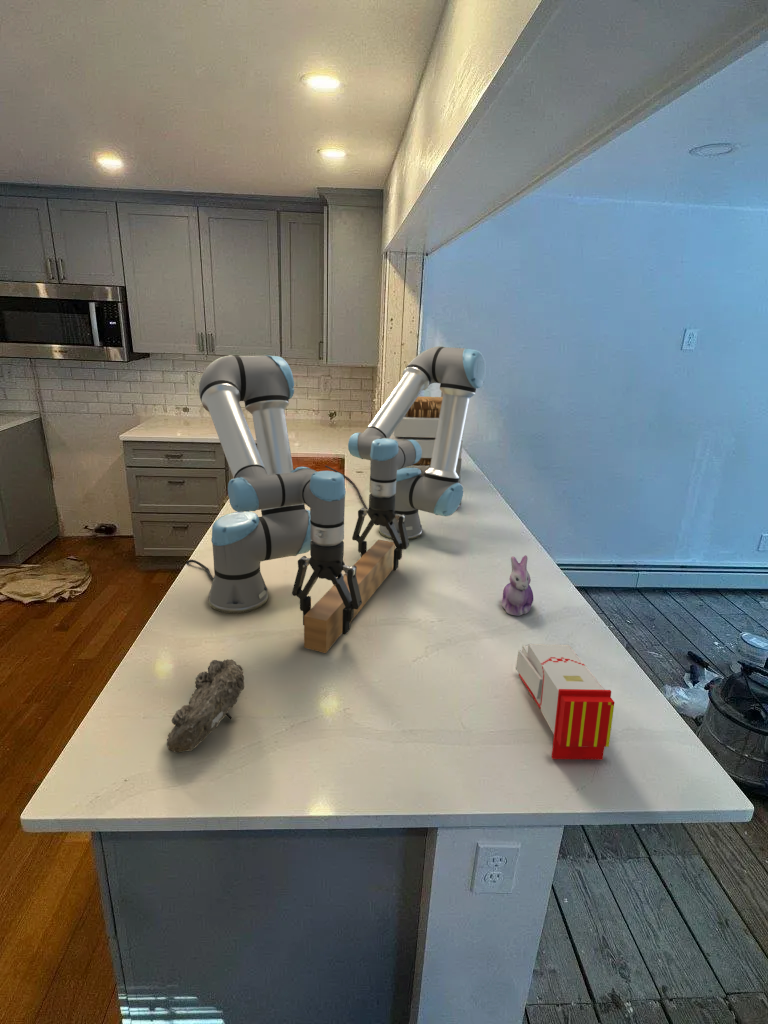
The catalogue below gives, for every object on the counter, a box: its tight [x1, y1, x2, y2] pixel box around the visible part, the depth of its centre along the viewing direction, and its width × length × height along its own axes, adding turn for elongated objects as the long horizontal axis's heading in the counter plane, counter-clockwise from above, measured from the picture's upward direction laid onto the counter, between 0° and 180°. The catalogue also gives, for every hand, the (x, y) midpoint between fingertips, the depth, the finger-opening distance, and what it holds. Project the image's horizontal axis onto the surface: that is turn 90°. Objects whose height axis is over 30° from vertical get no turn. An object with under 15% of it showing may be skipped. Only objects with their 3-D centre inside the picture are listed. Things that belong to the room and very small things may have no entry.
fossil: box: [166, 658, 245, 754], centre depth 106 cm, size 22×10×15 cm
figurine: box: [501, 555, 534, 617], centre depth 150 cm, size 9×10×15 cm
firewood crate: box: [389, 391, 465, 483], centre depth 268 cm, size 34×33×41 cm
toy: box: [515, 643, 615, 761], centre depth 113 cm, size 12×13×30 cm
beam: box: [303, 539, 396, 654], centre depth 151 cm, size 50×6×8 cm, turn 161°
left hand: (326, 627), depth 135 cm, fingers open, 9 cm apart
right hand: (379, 565), depth 168 cm, fingers open, 9 cm apart
